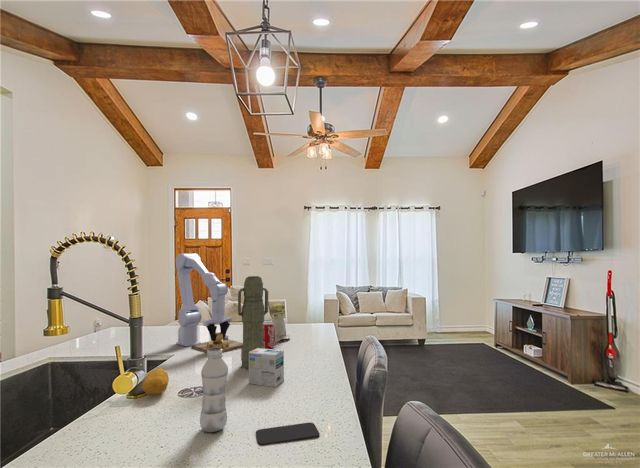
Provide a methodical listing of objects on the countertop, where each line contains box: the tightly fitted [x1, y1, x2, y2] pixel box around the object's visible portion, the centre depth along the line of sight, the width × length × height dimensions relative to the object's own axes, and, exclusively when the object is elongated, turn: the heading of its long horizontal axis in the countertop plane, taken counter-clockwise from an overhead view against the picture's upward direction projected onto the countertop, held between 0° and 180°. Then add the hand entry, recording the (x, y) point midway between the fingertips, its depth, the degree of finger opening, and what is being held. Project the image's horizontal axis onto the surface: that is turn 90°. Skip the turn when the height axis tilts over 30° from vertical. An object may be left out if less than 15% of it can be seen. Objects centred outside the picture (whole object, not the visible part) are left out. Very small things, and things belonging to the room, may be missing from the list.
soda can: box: [263, 321, 276, 350], centre depth 169 cm, size 7×7×12 cm
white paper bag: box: [268, 302, 291, 344], centre depth 187 cm, size 12×13×18 cm
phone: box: [255, 421, 321, 447], centre depth 90 cm, size 7×1×15 cm
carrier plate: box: [191, 334, 243, 354], centre depth 172 cm, size 18×18×4 cm
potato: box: [141, 367, 170, 396], centre depth 117 cm, size 8×14×7 cm, turn 23°
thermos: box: [237, 275, 269, 370], centre depth 145 cm, size 9×12×35 cm
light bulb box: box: [247, 348, 285, 388], centre depth 126 cm, size 11×7×11 cm, turn 71°
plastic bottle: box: [199, 348, 229, 433], centre depth 93 cm, size 6×7×20 cm
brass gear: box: [206, 331, 229, 349], centre depth 169 cm, size 10×10×6 cm
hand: (217, 339), depth 169 cm, fingers open, 5 cm apart
